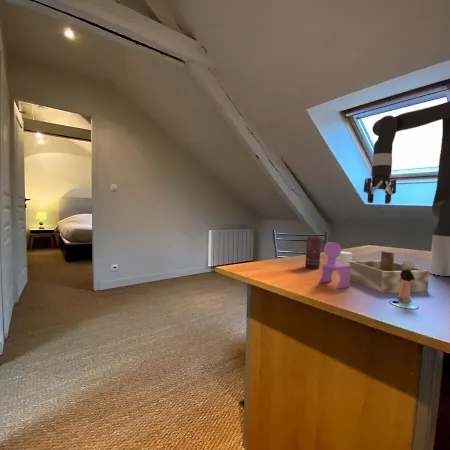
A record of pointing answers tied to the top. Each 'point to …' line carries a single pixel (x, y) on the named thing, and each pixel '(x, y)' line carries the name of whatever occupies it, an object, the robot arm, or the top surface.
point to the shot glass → (344, 258)
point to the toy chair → (335, 266)
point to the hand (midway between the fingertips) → (378, 203)
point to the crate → (386, 276)
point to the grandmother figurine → (406, 280)
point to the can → (313, 252)
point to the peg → (387, 261)
